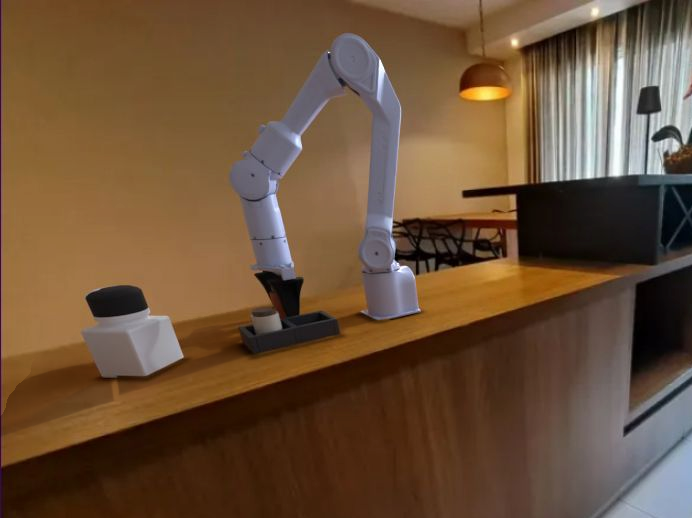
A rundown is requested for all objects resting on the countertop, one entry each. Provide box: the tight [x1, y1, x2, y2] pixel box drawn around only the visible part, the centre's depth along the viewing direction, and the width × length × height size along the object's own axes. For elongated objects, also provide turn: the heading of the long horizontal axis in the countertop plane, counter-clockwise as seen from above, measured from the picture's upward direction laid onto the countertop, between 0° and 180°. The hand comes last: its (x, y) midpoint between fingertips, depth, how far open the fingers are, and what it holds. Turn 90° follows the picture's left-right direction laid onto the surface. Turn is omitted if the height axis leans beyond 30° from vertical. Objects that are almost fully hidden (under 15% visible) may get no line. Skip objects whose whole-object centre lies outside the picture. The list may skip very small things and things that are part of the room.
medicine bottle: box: [80, 284, 185, 379], centre depth 62 cm, size 7×7×12 cm
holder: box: [238, 310, 341, 355], centre depth 74 cm, size 14×7×3 cm, turn 132°
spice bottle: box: [269, 287, 287, 319], centre depth 83 cm, size 4×4×8 cm
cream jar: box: [250, 305, 283, 335], centre depth 71 cm, size 4×4×6 cm
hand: (287, 312), depth 83 cm, fingers open, 7 cm apart
